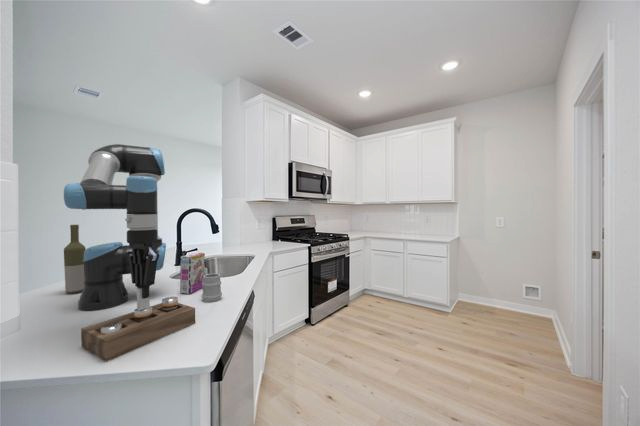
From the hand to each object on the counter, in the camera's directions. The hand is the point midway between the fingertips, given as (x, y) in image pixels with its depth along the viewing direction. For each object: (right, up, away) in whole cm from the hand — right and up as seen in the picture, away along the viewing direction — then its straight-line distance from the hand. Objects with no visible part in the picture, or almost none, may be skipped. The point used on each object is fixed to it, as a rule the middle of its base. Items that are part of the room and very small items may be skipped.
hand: (143, 308), depth 76 cm
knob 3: (+4, -5, +7) cm, 9 cm away
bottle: (-56, -7, +38) cm, 68 cm away
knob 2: (0, -5, 0) cm, 5 cm away
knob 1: (-4, -7, -7) cm, 11 cm away
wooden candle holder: (0, -8, 0) cm, 8 cm away
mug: (+6, -7, +31) cm, 32 cm away
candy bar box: (-5, -7, +41) cm, 42 cm away
